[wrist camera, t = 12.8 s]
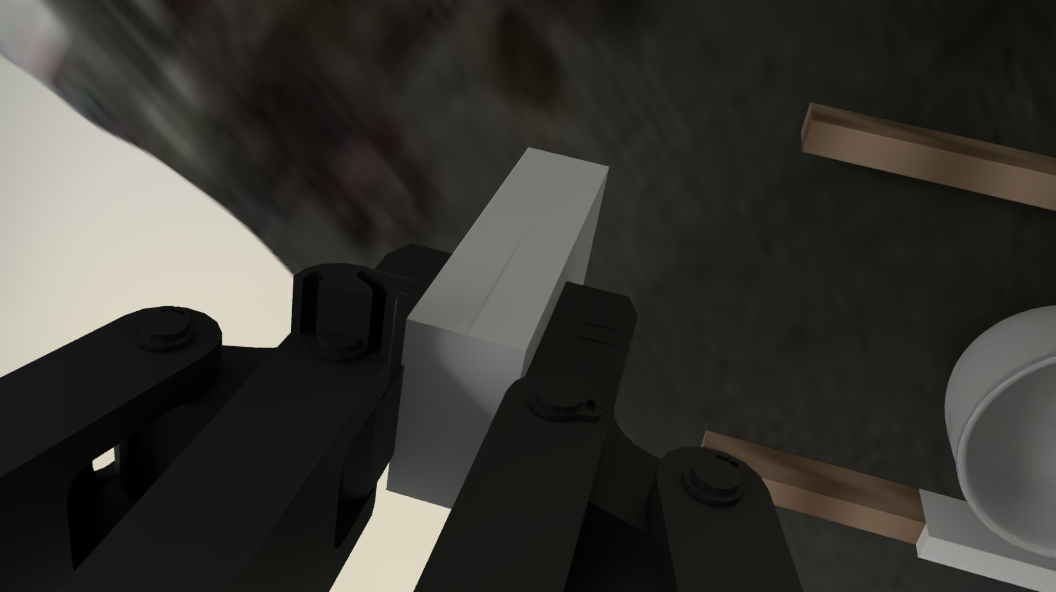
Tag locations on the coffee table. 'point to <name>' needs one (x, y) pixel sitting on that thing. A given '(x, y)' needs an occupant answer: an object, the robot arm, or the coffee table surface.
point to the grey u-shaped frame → (978, 546)
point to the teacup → (1009, 428)
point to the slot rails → (917, 157)
